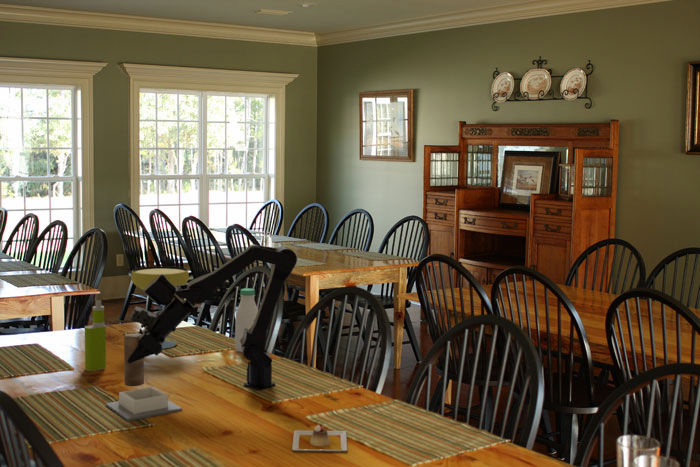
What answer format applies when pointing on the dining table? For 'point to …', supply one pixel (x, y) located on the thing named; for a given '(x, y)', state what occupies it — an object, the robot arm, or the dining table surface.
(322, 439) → the dessert
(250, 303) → the milk bottle
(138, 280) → the cocktail glass
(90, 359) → the vape
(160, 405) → the socket dock
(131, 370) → the plug
